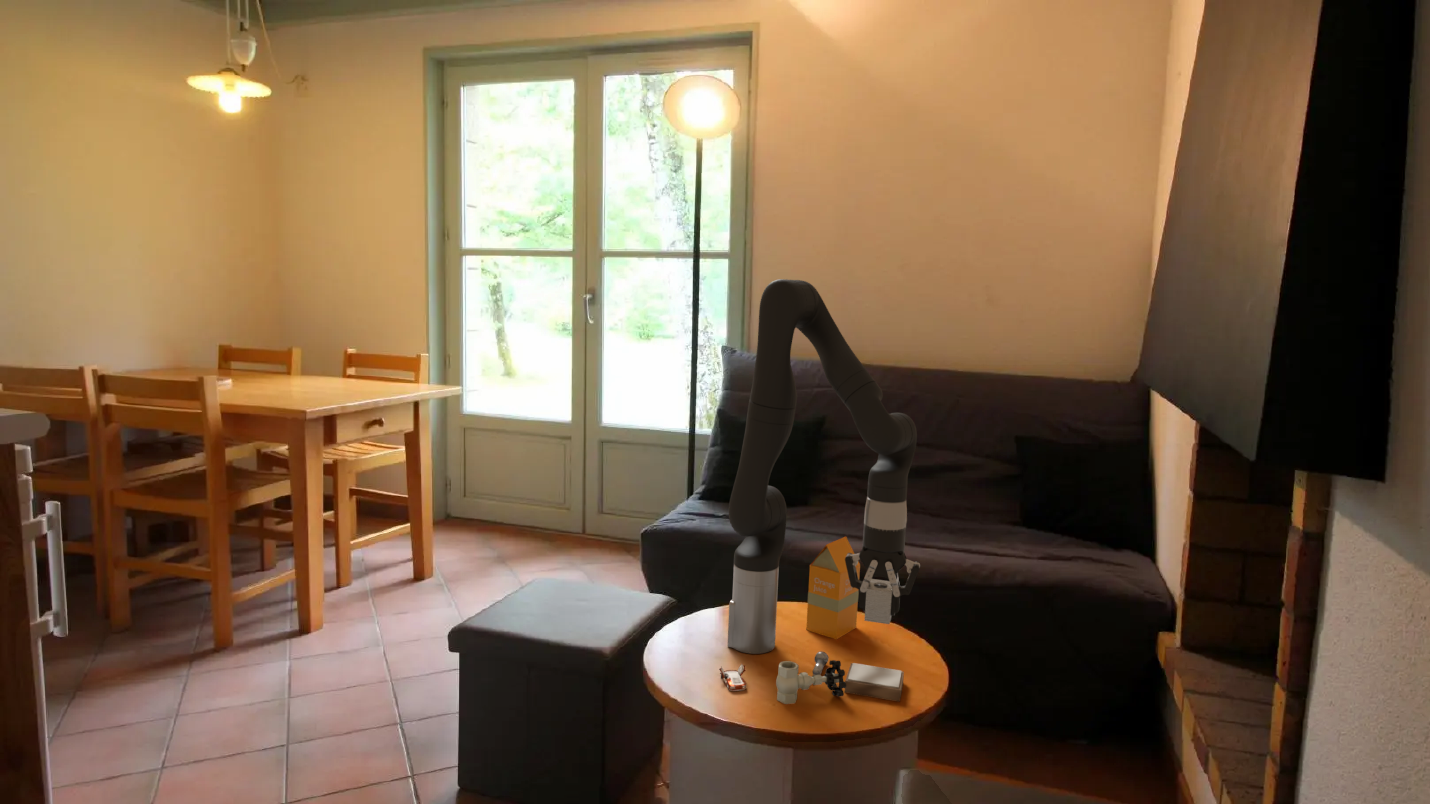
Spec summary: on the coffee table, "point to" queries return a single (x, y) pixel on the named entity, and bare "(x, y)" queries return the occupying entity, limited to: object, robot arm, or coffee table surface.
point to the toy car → (734, 678)
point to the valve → (806, 680)
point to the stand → (874, 682)
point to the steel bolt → (820, 662)
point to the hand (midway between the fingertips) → (879, 611)
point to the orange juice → (832, 592)
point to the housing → (878, 601)
